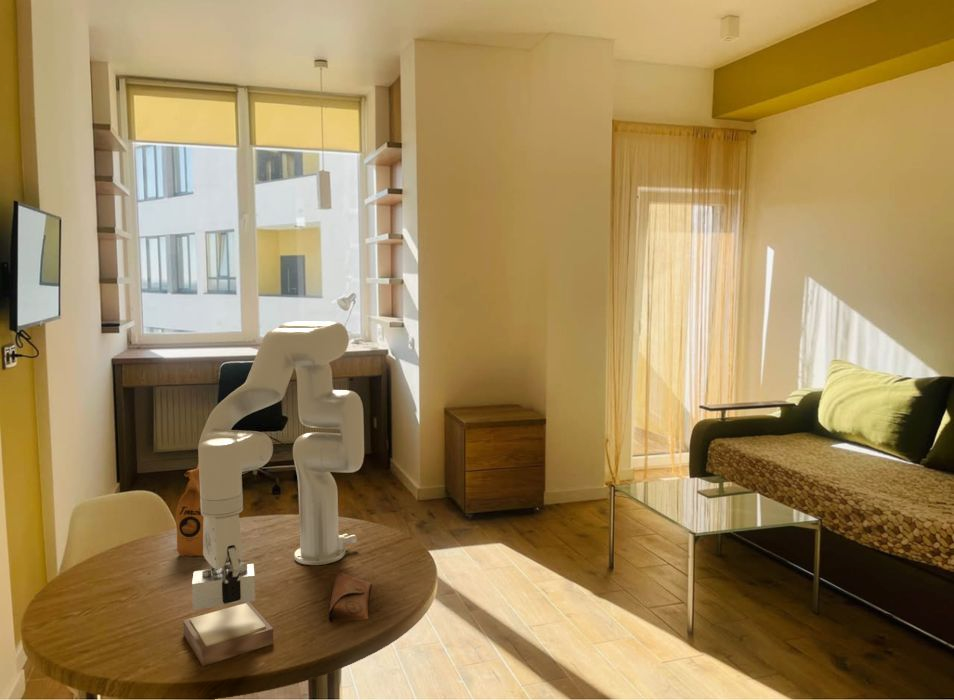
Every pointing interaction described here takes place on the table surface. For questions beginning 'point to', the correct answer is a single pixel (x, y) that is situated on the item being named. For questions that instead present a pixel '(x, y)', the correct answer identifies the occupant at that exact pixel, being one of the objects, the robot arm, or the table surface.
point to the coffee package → (190, 518)
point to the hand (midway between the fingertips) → (225, 593)
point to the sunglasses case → (349, 599)
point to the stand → (227, 633)
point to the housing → (220, 587)
